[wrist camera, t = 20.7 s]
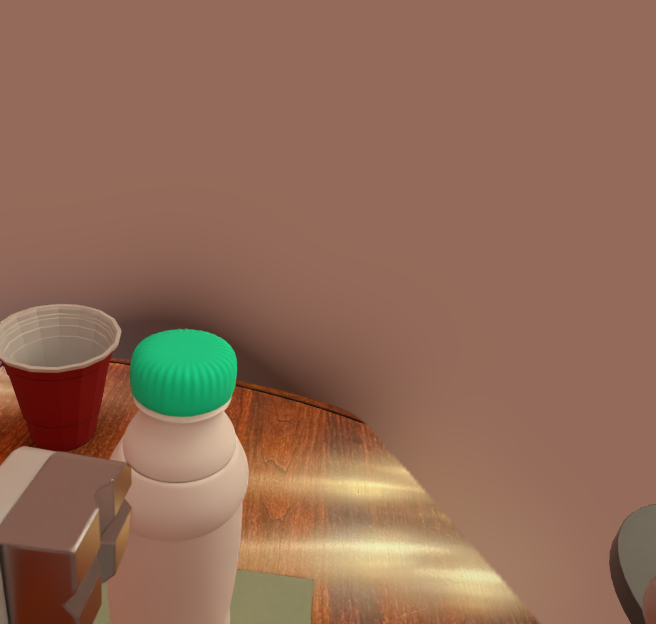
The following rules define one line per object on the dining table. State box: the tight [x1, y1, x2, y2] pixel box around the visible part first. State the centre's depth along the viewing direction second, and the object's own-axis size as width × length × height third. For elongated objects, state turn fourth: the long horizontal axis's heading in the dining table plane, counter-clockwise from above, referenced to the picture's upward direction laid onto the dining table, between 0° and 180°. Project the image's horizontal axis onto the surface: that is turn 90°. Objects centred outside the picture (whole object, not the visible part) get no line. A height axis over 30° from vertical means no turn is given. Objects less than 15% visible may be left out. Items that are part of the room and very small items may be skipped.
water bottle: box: [107, 329, 249, 624], centre depth 30 cm, size 7×7×25 cm
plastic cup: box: [0, 304, 121, 451], centre depth 52 cm, size 11×11×12 cm
